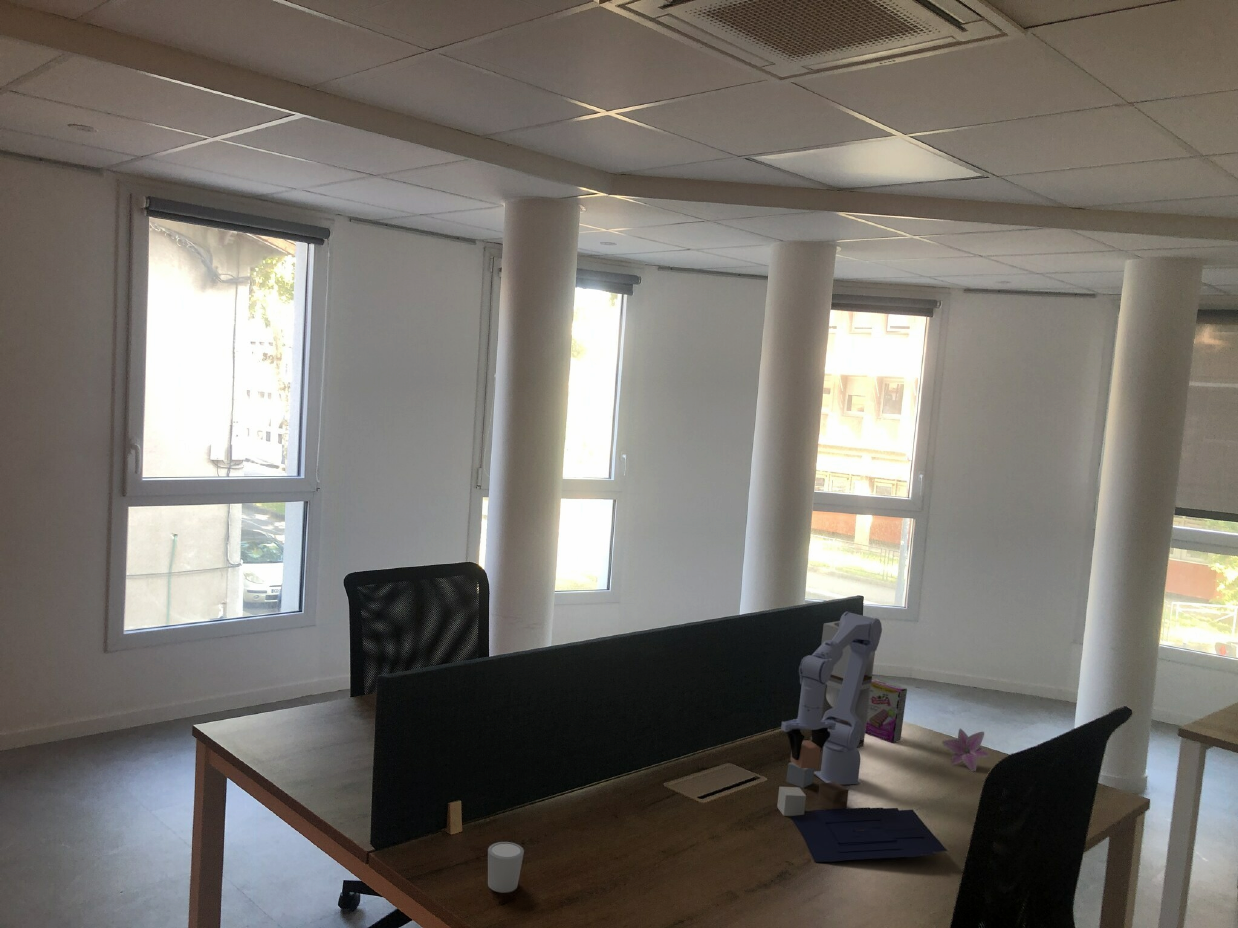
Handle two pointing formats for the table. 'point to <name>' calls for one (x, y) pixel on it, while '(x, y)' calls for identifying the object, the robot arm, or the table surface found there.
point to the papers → (865, 834)
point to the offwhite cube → (791, 801)
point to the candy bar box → (885, 710)
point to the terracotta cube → (808, 755)
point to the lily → (966, 749)
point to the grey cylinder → (504, 866)
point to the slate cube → (799, 775)
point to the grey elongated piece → (837, 678)
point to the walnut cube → (832, 796)
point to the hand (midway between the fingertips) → (804, 757)
